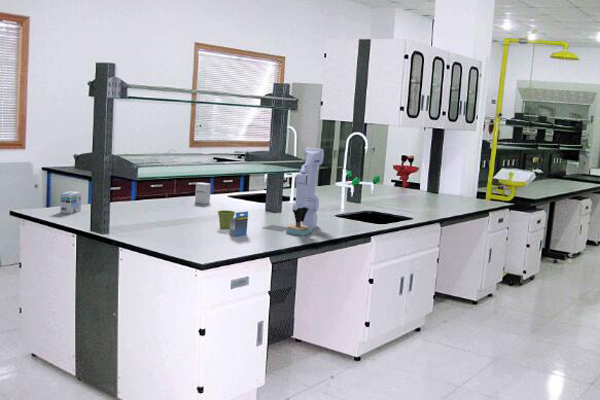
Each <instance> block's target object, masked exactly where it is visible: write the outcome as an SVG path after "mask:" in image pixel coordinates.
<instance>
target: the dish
mask: <svg viewBox="0 0 600 400" xmlns="http://www.w3.org/2000/svg"><path fill="white" fill-rule="evenodd" d="M312 231H313V229H312V228H308V230H292V229H289V228H286V230H285V233H286V234H287V235H293V236H300V237H306V236H310V235H311V234H312Z"/></svg>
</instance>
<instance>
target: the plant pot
mask: <svg viewBox="0 0 600 400" xmlns="http://www.w3.org/2000/svg"><path fill="white" fill-rule="evenodd" d="M217 214H218V221H219V228H220V229H224V230H230V221H231V219H233V218H235V215H236V212H235V211H234V210H229V209H228V210H225V209H224V210H223V209H222V210H217Z"/></svg>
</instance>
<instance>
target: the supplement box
mask: <svg viewBox="0 0 600 400" xmlns="http://www.w3.org/2000/svg"><path fill="white" fill-rule="evenodd" d="M211 185H212V184H211V183H208V182H197V183H196V182H195V194H194V195H195V197H194V203H196V204H202V205H207V204H209V203H210V202H211Z"/></svg>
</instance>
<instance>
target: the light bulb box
mask: <svg viewBox="0 0 600 400" xmlns="http://www.w3.org/2000/svg"><path fill="white" fill-rule="evenodd" d="M59 207H60V209H59V210H60V211H59V212H60V213H62V214H68V215H69V214H71V215H72V214H74V213H75V214H76V213H79V212H81V211H82V192H81V191H74V190H70V191H65V192H60V206H59ZM78 211H79V212H78Z"/></svg>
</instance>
